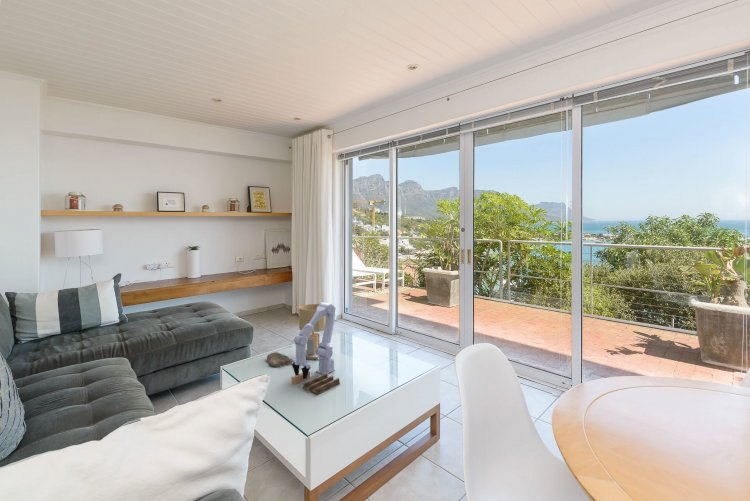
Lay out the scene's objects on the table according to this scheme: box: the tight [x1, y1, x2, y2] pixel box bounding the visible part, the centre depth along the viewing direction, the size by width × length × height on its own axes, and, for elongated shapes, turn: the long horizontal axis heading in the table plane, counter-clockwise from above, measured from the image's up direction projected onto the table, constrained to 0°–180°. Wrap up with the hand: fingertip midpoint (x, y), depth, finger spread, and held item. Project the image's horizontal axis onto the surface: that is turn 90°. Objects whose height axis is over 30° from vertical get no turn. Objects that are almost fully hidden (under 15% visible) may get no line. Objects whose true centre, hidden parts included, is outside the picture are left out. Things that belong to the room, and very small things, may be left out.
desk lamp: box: [298, 303, 326, 361], centre depth 249 cm, size 20×20×35 cm
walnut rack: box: [302, 373, 341, 396], centre depth 203 cm, size 18×12×3 cm, turn 141°
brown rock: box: [266, 351, 293, 368], centre depth 239 cm, size 14×5×20 cm
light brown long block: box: [291, 371, 311, 385], centre depth 211 cm, size 12×2×4 cm, turn 141°
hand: (300, 376), depth 211 cm, fingers open, 7 cm apart
